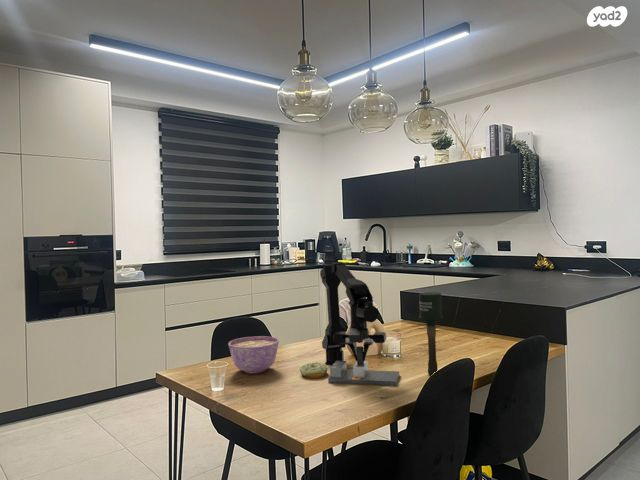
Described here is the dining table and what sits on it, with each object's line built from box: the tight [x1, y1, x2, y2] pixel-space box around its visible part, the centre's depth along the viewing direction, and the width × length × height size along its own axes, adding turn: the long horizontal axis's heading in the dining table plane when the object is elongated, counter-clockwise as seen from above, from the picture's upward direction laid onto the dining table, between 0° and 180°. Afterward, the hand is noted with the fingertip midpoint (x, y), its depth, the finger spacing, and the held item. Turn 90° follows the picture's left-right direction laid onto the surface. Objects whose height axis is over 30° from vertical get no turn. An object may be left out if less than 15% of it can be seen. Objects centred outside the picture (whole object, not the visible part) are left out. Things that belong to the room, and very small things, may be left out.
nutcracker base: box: [327, 360, 400, 387], centre depth 172 cm, size 24×12×5 cm, turn 75°
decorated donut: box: [299, 362, 328, 379], centre depth 180 cm, size 10×11×4 cm
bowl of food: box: [228, 335, 280, 374], centre depth 189 cm, size 20×20×12 cm
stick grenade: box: [418, 291, 444, 377], centre depth 173 cm, size 8×9×30 cm
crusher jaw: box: [352, 345, 369, 378], centre depth 172 cm, size 4×8×10 cm, turn 165°
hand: (360, 360), depth 172 cm, fingers closed on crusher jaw, 2 cm apart
